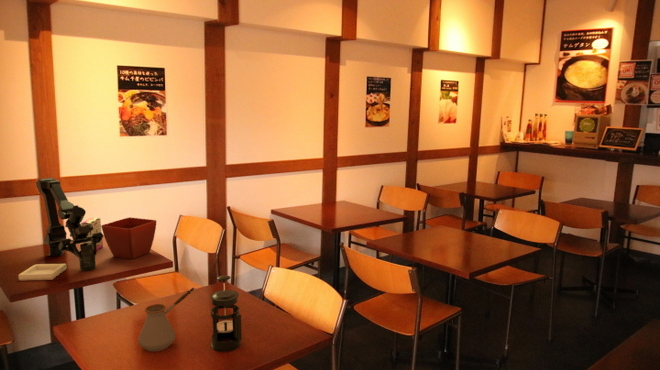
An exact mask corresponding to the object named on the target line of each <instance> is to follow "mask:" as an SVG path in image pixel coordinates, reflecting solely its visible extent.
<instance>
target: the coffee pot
mask: <svg viewBox="0 0 660 370" xmlns="http://www.w3.org/2000/svg"><path fill="white" fill-rule="evenodd" d="M191 292H194V293H197V292H198V291H197V289H196V288H194V287H192V288H190V289H189V290H187V291H186V293H184V294H183V295H180V297H179V298H178V299H177V300H176V301H175V302H174V303H173V304H172V305H171V306H169V307H168V308H167V306H166V305H165V304H161V303H155V304H150V305H147V306H145V308H144V312H145V313H146V317H145V321H144V322H143V326H142V328H141V330H140V333H139V335H138V338H137V341H138V344H139V346H140V347H142V348H143V349H145V350H146V352H147V351H148V352H153V353H154V352H161V351H164V350H166V349H168V348H169V347H170V346H171V345H172V344H173V343H174V342H175V340H176V337H177V335H176V334H177V333H176V331H175V330H174V328H173V326H172V324H171V322H170V320H169V319H168V317H167V314H168V313H169V312H170V311H171V310H172V309H174V307H176V306H177V305H178V304H180V303H181V302H182V301H184V299H185V298H187V297H188V296H189V295H190V294H191Z"/></svg>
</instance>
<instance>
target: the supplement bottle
mask: <svg viewBox="0 0 660 370" xmlns="http://www.w3.org/2000/svg"><path fill="white" fill-rule="evenodd" d="M79 247H80V248H79V249H80V250H78V251H79V253H80V255H81V258H78V262H79V271H81V272H90V271H93V270H96V268H97V263H96V255H95V251H94V249H92V244H91V243H84V244H83V243H80V246H79Z"/></svg>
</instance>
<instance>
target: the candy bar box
mask: <svg viewBox="0 0 660 370" xmlns="http://www.w3.org/2000/svg"><path fill="white" fill-rule="evenodd" d="M101 223H102V222H101V217H91V218H88V219H87V220H85V221H82V222H80V224H81V226H86V225H87V224H92V226H93V230H92V231H90V232H89V233H88V234H89V235H88V236H87V237H92V235H93V233H98V232H101V233H102V234H103V231H102V227H101V225H102V224H101ZM103 242H104V241H103V239H102V240H101V242H99V243H97V244H96V251H97V252H98V251H99V250H101V249H102V248H103V247H104V245H103V244H104V243H103ZM84 243H90V241H89V242H84ZM84 243H82V244H84Z"/></svg>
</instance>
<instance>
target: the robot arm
mask: <svg viewBox="0 0 660 370" xmlns="http://www.w3.org/2000/svg"><path fill="white" fill-rule="evenodd" d="M35 185H36V189H37V190H38V192H39V194H41V195H42V197H43V201H44V206H45V211H46V217H47V222H48V225H47V228H46V231H45V232H46V234H45V236H44V239H43V241H44V244H45V245H47V246H48V247H49V253H48V254H47V255H46V256H47V257H61V256H62V255H64V254H65V253H66V252H69V253H71V254H73V255H74V256H76V257H77V258H78V259H79V258H81V255H80V253H79V251H80V250H79V249H78V248H77V245H79V244H83V243H84V242H89V241H90V243H91V244H92V249H94V251H95V256H96V255H97V252H98V250H97V251H96V244H97V243H99V242H101V240H102V241H103V238H104V234H103V232H102V231H101V232H102V233H101V232H98V233H93V235H92V237H87V236H88V235H89V234H88V233H89V232H90V231H92V230H93V226H92V224H87V225H86V226H81V223H82V222H83V220H84V218H85V215H86V210H85V209H84V208H83V207H81V206H79V205H78V204H77V205H74V203H72V202H71V201H69V200H68V198H67V196H66V194H65V192H64V190H63V188H62V186H61V183H60V181H59V180H58V179H54V177H45V178H44V177H43V178H38V180H37V181H36V182H35ZM60 219H61V220H64V221H65V220H66V221H65V225H63V224H62V223H60ZM66 229H68V231H69V237H71V238H72V239H71V238H67V232H66Z"/></svg>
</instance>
